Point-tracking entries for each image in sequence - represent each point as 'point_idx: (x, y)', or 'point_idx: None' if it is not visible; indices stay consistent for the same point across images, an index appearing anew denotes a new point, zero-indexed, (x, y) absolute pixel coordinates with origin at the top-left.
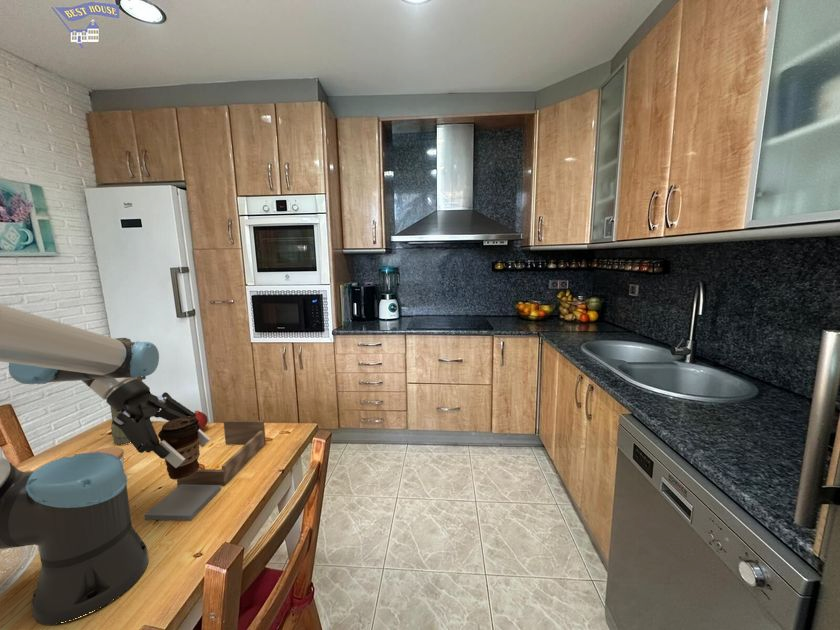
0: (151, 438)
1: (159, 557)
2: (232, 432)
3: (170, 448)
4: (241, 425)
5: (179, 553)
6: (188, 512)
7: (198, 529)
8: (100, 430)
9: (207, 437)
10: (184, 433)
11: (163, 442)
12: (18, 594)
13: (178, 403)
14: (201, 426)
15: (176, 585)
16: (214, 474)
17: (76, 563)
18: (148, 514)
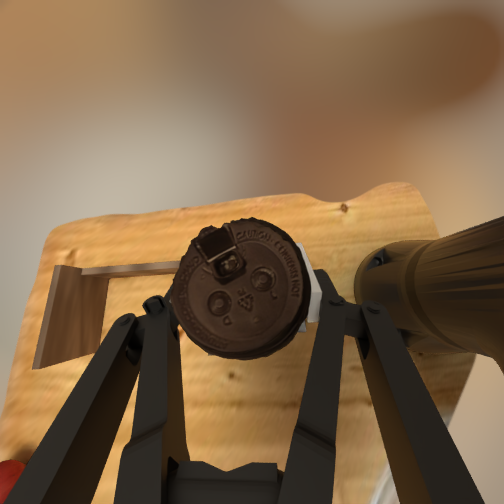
0: (344, 322)
1: (357, 249)
2: (74, 339)
3: (308, 268)
4: (60, 317)
5: (347, 230)
6: None
7: (309, 236)
8: None
9: None
10: (280, 230)
11: (317, 286)
12: (453, 383)
13: (58, 424)
14: (16, 465)
15: (384, 200)
16: None
17: None
18: (304, 325)
